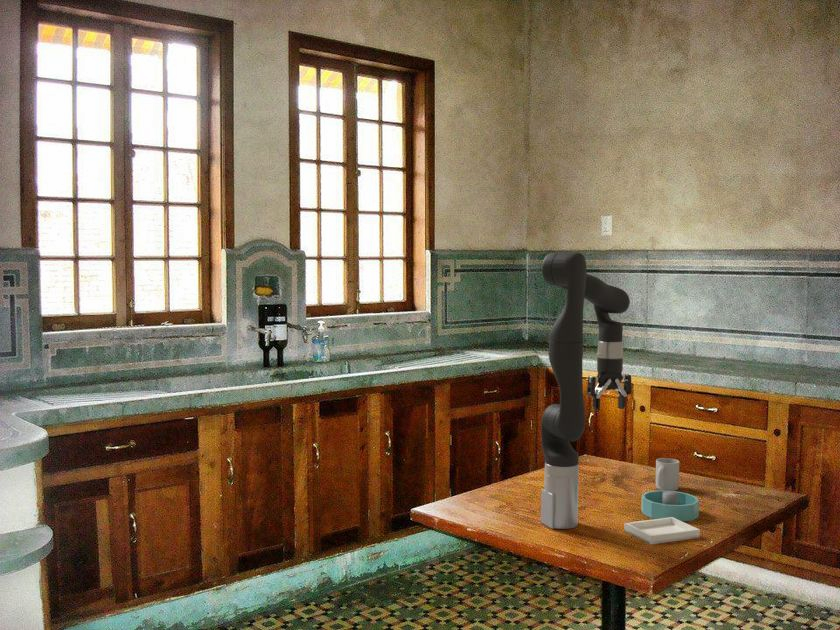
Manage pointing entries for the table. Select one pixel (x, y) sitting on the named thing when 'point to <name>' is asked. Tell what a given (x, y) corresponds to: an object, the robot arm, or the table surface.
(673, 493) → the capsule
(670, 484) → the cup
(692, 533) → the tray
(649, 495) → the bowl
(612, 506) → the table surface
